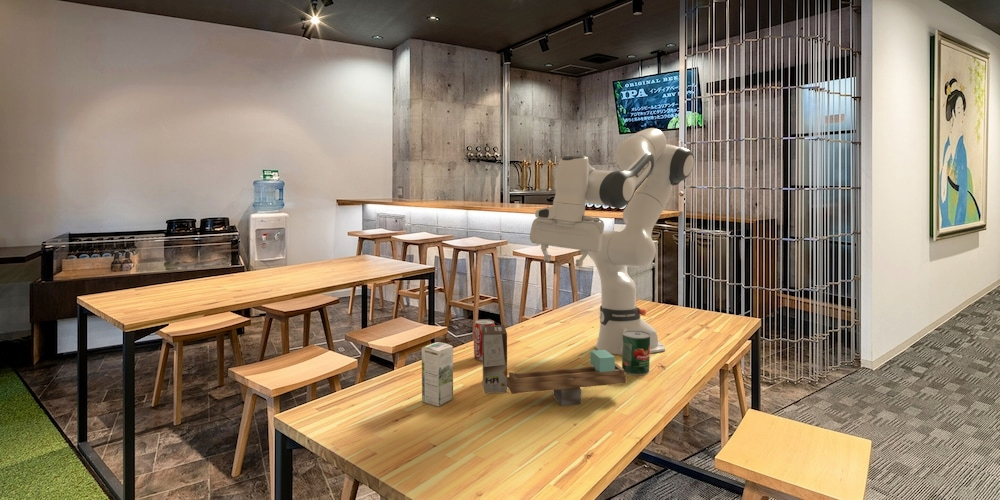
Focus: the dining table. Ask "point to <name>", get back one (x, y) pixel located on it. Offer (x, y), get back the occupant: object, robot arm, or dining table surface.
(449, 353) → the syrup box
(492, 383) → the coffee box
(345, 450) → the dining table surface
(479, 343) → the soda can
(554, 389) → the beam
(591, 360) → the block
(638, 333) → the canned tomato
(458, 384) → the dining table surface
